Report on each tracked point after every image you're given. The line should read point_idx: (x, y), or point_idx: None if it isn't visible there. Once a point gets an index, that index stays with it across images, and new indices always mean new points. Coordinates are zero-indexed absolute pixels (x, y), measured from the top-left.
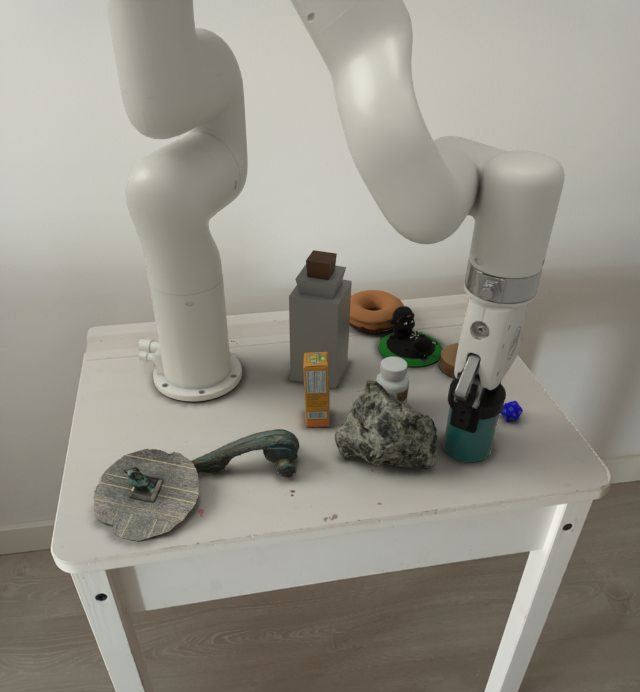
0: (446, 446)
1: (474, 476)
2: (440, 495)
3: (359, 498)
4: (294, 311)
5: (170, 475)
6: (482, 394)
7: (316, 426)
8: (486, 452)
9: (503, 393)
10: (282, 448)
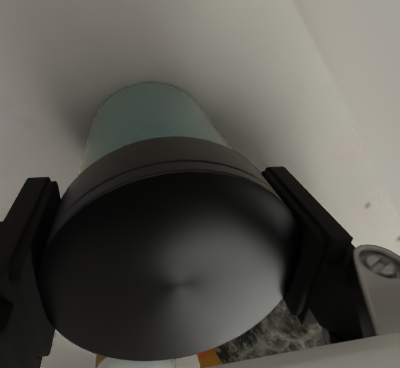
0: None
1: (246, 88)
2: (326, 130)
3: (362, 231)
4: None
5: None
6: (366, 295)
7: None
8: (178, 92)
9: (139, 193)
10: None
